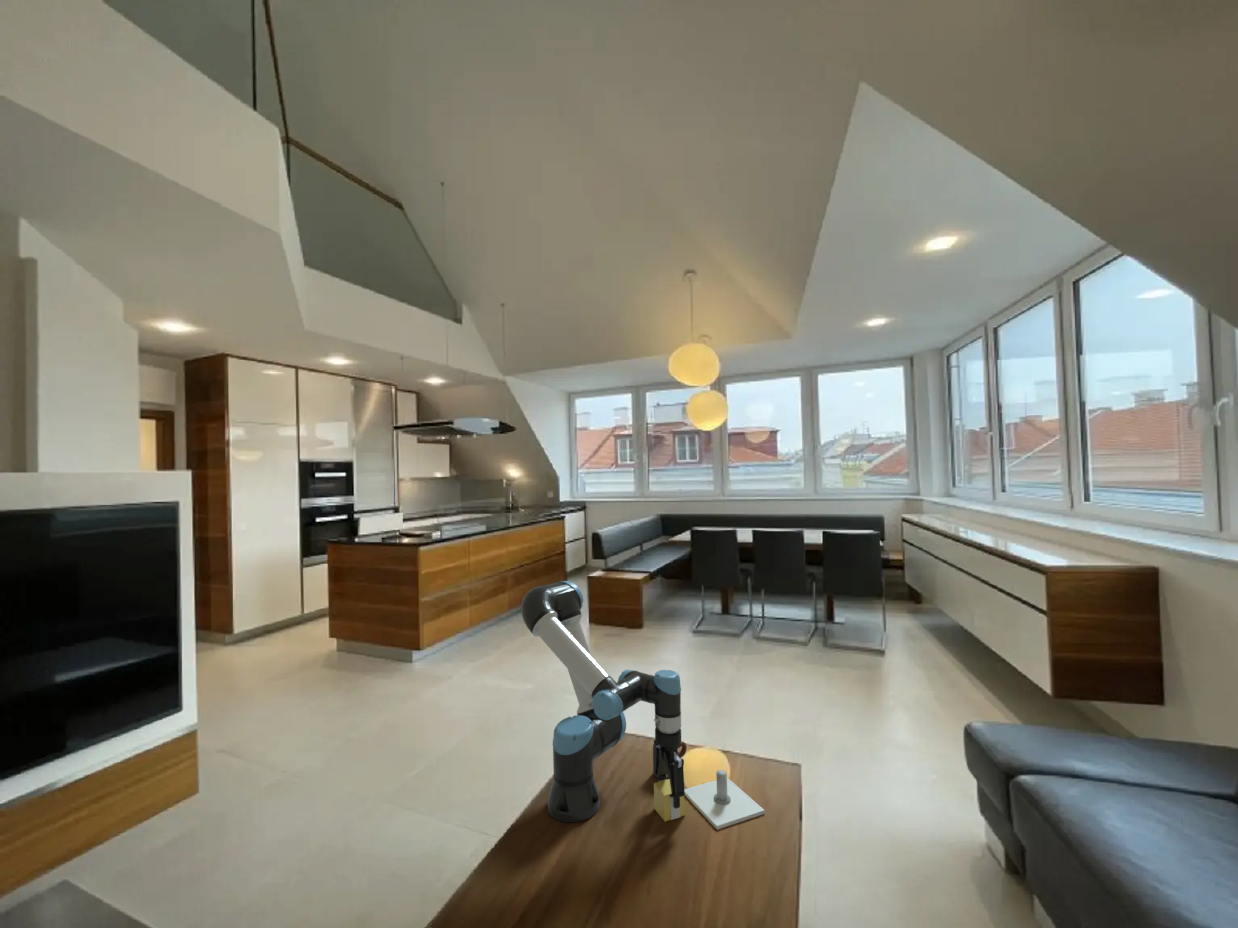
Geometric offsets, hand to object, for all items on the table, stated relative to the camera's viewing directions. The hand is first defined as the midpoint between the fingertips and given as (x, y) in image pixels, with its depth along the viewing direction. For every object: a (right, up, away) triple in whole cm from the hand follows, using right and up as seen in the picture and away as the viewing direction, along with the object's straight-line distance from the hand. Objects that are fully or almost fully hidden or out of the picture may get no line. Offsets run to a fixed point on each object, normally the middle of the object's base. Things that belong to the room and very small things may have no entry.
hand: (669, 810), depth 143 cm
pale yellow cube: (0, 0, 0) cm, 0 cm away
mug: (+3, -2, +20) cm, 20 cm away
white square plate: (+16, 0, +4) cm, 16 cm away
